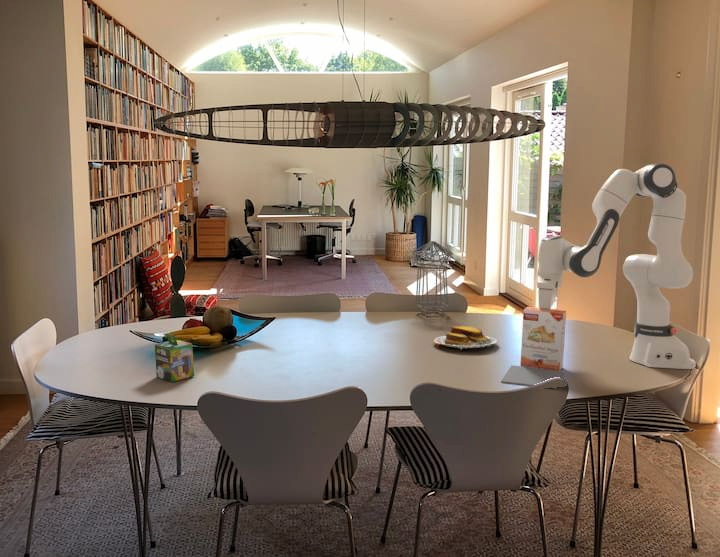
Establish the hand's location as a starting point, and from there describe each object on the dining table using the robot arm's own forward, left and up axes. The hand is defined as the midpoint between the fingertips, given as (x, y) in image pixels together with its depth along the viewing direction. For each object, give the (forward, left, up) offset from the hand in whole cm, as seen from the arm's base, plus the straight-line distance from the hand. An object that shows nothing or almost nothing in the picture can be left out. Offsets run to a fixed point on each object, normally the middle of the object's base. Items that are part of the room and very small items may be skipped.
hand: (546, 318), depth 265 cm
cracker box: (0, +10, -16) cm, 19 cm away
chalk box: (+112, +71, -16) cm, 133 cm away
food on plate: (+32, -9, -16) cm, 37 cm away
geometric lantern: (+60, -60, -16) cm, 86 cm away
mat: (+1, +24, -16) cm, 29 cm away
